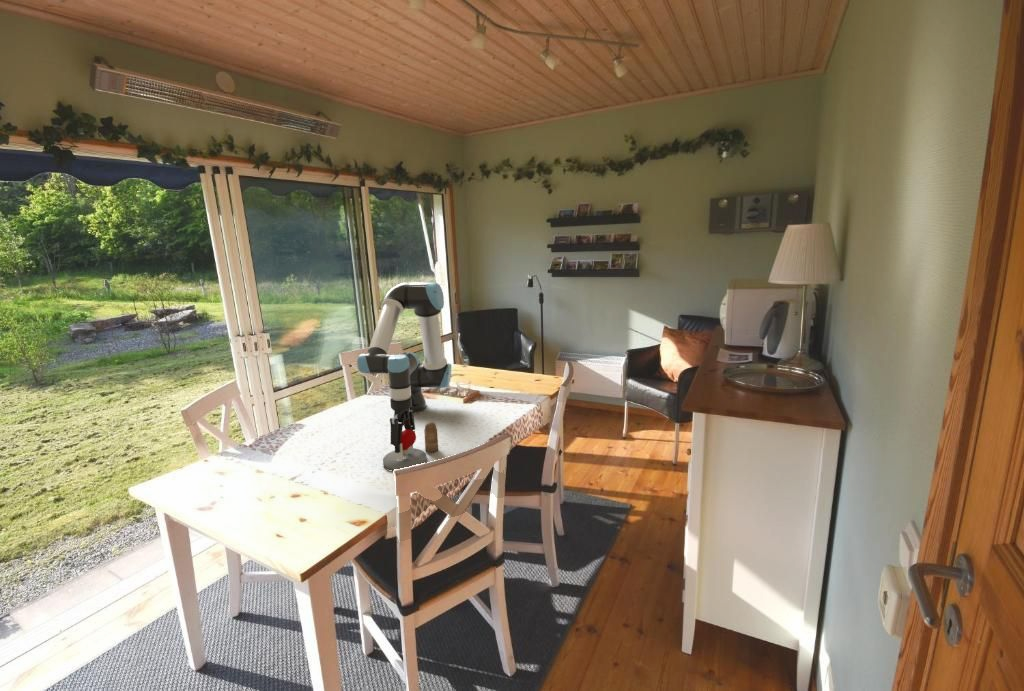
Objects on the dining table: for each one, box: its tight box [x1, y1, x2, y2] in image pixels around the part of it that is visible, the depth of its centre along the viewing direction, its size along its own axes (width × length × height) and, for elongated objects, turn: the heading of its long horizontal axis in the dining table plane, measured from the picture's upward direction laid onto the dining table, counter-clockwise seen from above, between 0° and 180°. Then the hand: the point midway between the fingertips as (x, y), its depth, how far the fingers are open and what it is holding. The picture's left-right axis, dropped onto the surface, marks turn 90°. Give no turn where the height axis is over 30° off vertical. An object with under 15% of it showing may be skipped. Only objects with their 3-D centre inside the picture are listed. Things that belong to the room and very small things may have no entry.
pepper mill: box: [423, 421, 439, 454], centre depth 187 cm, size 5×5×12 cm
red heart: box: [393, 429, 417, 456], centre depth 178 cm, size 9×7×10 cm
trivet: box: [382, 447, 427, 472], centre depth 179 cm, size 16×16×2 cm
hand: (404, 454), depth 179 cm, fingers closed on red heart, 7 cm apart
